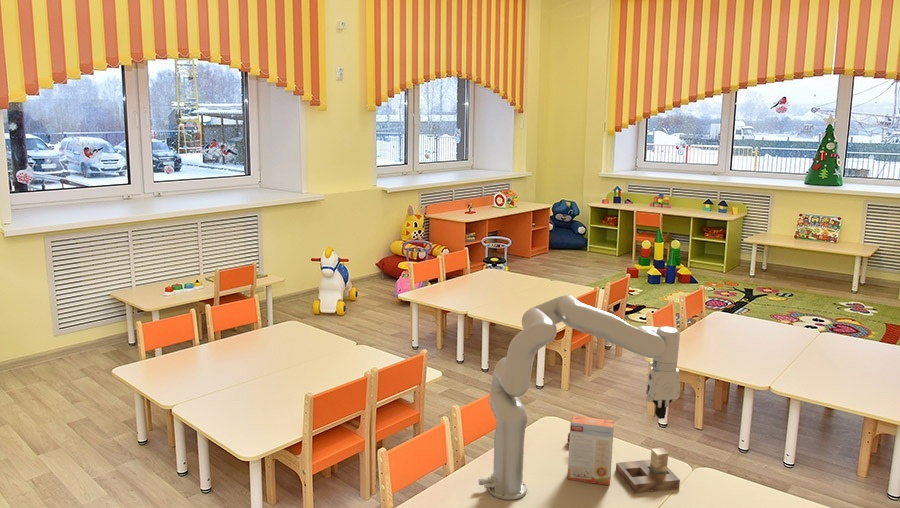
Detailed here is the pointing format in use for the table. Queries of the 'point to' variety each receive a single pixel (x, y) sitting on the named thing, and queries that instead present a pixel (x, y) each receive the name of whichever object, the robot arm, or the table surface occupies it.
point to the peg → (658, 461)
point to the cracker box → (590, 450)
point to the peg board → (645, 477)
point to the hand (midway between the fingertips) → (660, 416)
